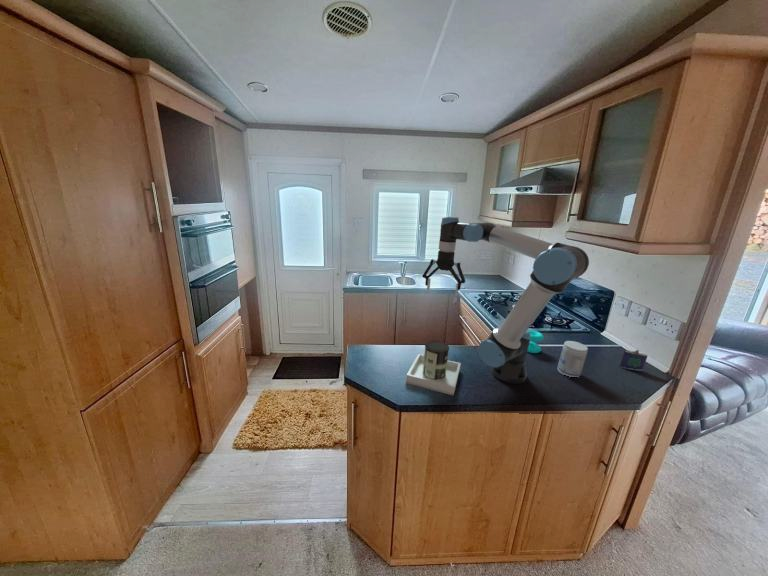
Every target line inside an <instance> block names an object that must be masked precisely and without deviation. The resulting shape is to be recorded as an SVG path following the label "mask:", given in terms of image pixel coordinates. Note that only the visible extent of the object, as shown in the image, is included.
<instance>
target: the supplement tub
mask: <svg viewBox="0 0 768 576" xmlns="http://www.w3.org/2000/svg"><path fill="white" fill-rule="evenodd" d="M588 350H589V348H588V346H586V345H585V344H583V343H581V342H579V341H573V340H566V341H564V343H563V346H562V348H561V351H560V356H559V360H558V363H557V371H558V372H559V373H560V374H561V375H562V376H564V375H566V376H565V377H567V376H569V377H568V378H570V377H578V378H580V377H581V375H582V371H583V368H584V364H585V361H586V358H587V355H588ZM579 376H580V377H579Z"/></svg>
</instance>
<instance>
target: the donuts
mask: <svg viewBox="0 0 768 576" xmlns="http://www.w3.org/2000/svg"><path fill="white" fill-rule="evenodd" d="M527 331H529V332H530V334H531V336H530V342H529V347H528V351H527V353H531V354H538V353H541V351H542V347H541V346H540V345H539V344H538V342H542V341H543V340H544V339H545V338H544V337H545V336H544V335H543V333H541V332H540V331H537V330H533V329H528V330H527Z"/></svg>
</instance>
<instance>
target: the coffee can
mask: <svg viewBox="0 0 768 576" xmlns="http://www.w3.org/2000/svg"><path fill="white" fill-rule="evenodd" d="M449 351H450V346H449V344H447V343H445V342H443V341H439V340H428V341H426V342H425V343H424V354H423V355H424V365H423V376H424V377H425V378H427V379H430V380H434V381H441V380H443V379H445V377H446V368H447V360H448V358H449Z"/></svg>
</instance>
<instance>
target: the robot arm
mask: <svg viewBox="0 0 768 576" xmlns="http://www.w3.org/2000/svg"><path fill="white" fill-rule="evenodd" d="M459 219H460V218H459V217H458V216H449V215H448V216H443V217H442V218H441V223H440V231H439V232H440V234H439V235H440V236H439V240H438V241H439V242H438V252H437V260H436V259H434V258H431V259H430V261H429V264H428V266H427V268H426V270H425V271H424V272H423V273H422V276H421V277H422V278H424V279H425V284H424V285H425V286H426V293H427V294H428V293H429V292H430V288H431V277H432V276H433V275H434V274H435V273H436V272H437V271H439V270H441V271H446V272H447V271H448V272H450V273H451V275H452V276H453V277H454V280H455V281H456V284H455V290H454V291H455V292H454V297H455V298H457V296H458V293H459V292H458V291H460V290H461V288H462V284H465V283H466V279H465V275H464V272H463V271H462V270H463V269H462V267H461V261H458V262H455V261H454V260H455V253H456V252H455V251H456V245H457V240H461V241H466V242H468V243H469V242H470V243H471V242H473V243H477V242H479V241H485V242H487V243H490V244H493V245H496V246H498V247H501V248H504V249H507V250H509V251H513V252H515V253H518V254H521V255H523V256H526V257H529V258H531V259H535V260H534V261H533V265H532V266H533V267H532V269H533V270H532V272H531V273H530V274H529V277H530V283H529V284H528V286H527V287H526V288H525V290H524V292H523V293H522V294H521V296H520V297H519V299H518V300H517V301H516V303H515V304H514V306H513V308H512V309H511V310H510V312H509V313H508V315H507V316H506V317H505V319H504V321H502V323H501V325H500V326H498V327H495V328H493V329H492V330H491V333H490V334H489V335H488V337H487V338H485V339H483V340H482V341H481V342H480V343H479V344H478V354H479V357H480V358H481V360H482V361H483V362H484V363H485V364H486V365H487V366H489V367H491V368H490V373H491V374H492V375H493V376H494V377H496V379H498V380H500V381H503V382H505V383H509V384H516V385H517V384H523V383H525V382H526V380H527V376H528V373H527V372H528V371H527V368H526V359H527V355H528V352H527V351H528V347H529V342H530V336H531V334H530V332H529V331H527V330H529V328H531V326H532V325H533V323H534V322H535V320H536V319H537V318H538V317H539V315H540V314H541V313H542V312H543V310H544V309H545V307H546V306H547V305H548V303H549V302H550V301H551V299H552V298H553V297H554V295H556V294H562V293H563V292H564V290H565V289H566V288H567V287H568V286H569V284H570V283H571V282H572V281H573V280H574V279H577V278H578V277H581V276H582V275H584V274H585V273H586V271H588V269H589V265H590V259H589V256H588V254H587V252H586V251H584V249H582V248H580V247H578V246H574V245H570V244H569V245H568V244H566V243H562V242H559V241H558V242H555V243H551V242H548V241H545V240H542V239H539V238H536V237H533V236H529V235H525V234H522V233H520V232H517V231H513V230H510V229H507V228H504V227H500V226H497V225H496V224H494V223H493V222H491V223H490V222H461V221H459ZM435 264H436V265H437V267H435V269H433V270H432V271H431V272H430V273H429V271H430V270H431V268H432V267H433V265H435ZM454 266H455V267H456V269H457V272H458V274H457V273H456V271H455V270H454V268H453V267H454ZM428 273H429V274H428ZM458 275H459V276H458Z"/></svg>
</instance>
